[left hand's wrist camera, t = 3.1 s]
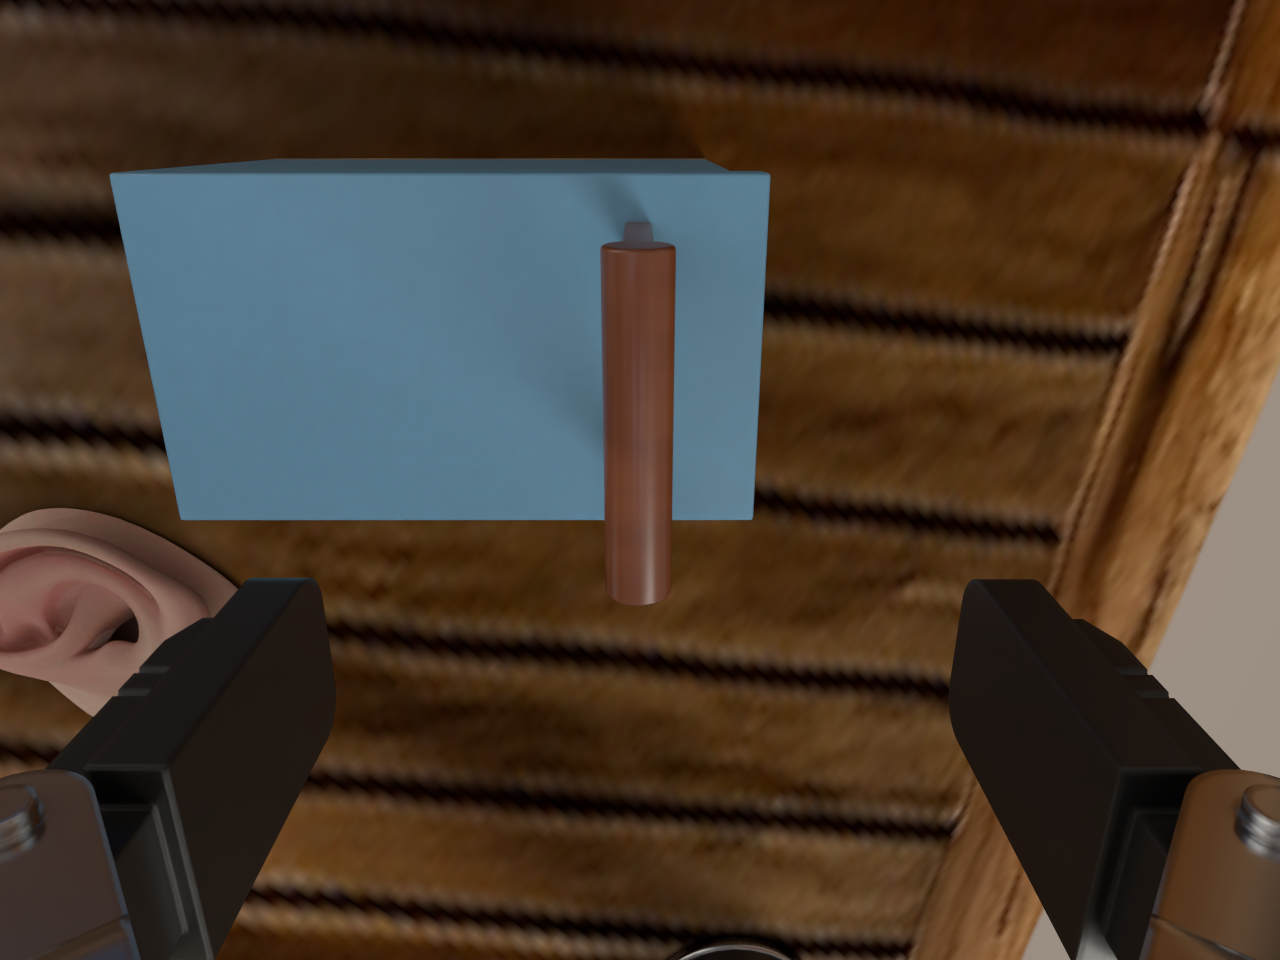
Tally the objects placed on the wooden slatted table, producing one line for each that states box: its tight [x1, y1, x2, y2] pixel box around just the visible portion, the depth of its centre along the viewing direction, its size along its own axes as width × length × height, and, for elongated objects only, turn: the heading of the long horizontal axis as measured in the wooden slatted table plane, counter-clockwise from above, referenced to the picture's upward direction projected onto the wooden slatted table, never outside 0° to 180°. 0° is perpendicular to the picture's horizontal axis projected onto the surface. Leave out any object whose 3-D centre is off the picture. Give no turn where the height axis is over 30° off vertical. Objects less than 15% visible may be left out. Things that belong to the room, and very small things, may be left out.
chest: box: [140, 158, 729, 171], centre depth 31 cm, size 16×10×11 cm, turn 90°
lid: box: [110, 171, 770, 606], centre depth 22 cm, size 17×10×8 cm, turn 90°
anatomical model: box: [0, 508, 238, 717], centre depth 39 cm, size 13×4×12 cm
